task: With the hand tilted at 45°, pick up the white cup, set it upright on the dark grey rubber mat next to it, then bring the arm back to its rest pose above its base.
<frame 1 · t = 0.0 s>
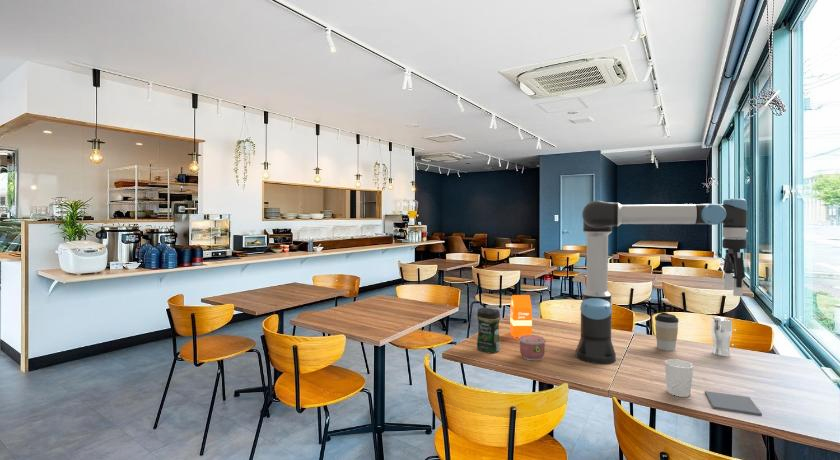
hand: (733, 292, 165), 28 cm above the table, tool pointing down, fingers open, 13 cm apart
rubber mat: (731, 403, 132), on the table
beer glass: (721, 354, 177), on the table
orange juice: (520, 336, 205), on the table
coffee cup: (666, 348, 185), on the table
white cup: (678, 393, 140), on the table
container: (532, 358, 175), on the table
coffee jar: (488, 350, 184), on the table
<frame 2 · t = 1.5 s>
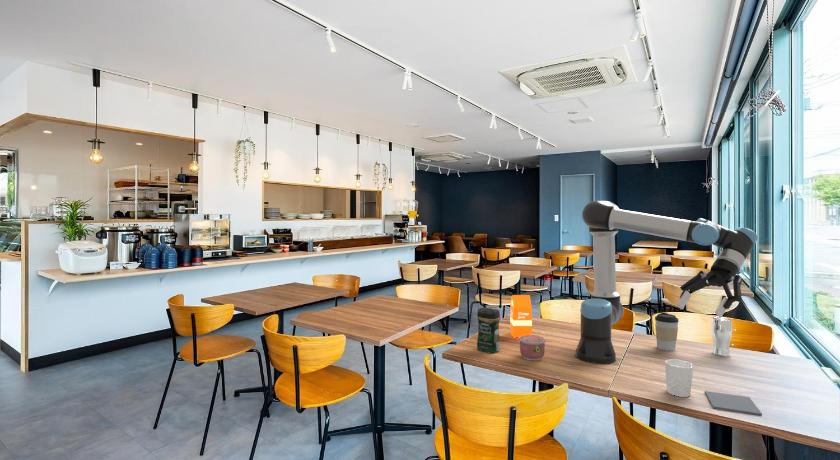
hand: (697, 310, 146), 26 cm above the table, tool tilted 45°, fingers open, 13 cm apart
nothing on the table moved.
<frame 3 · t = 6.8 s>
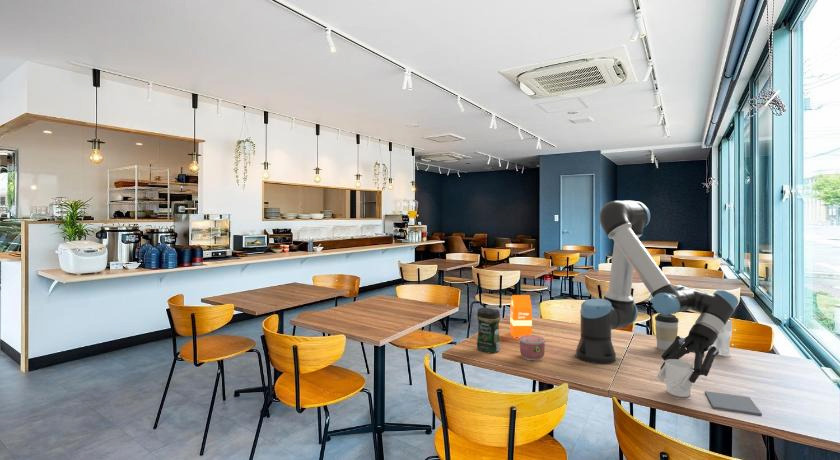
hand: (671, 383, 139), 4 cm above the table, tool tilted 45°, fingers closed on white cup, 8 cm apart
white cup: (678, 393, 140), on the table, touching gripper
everything else where it was.
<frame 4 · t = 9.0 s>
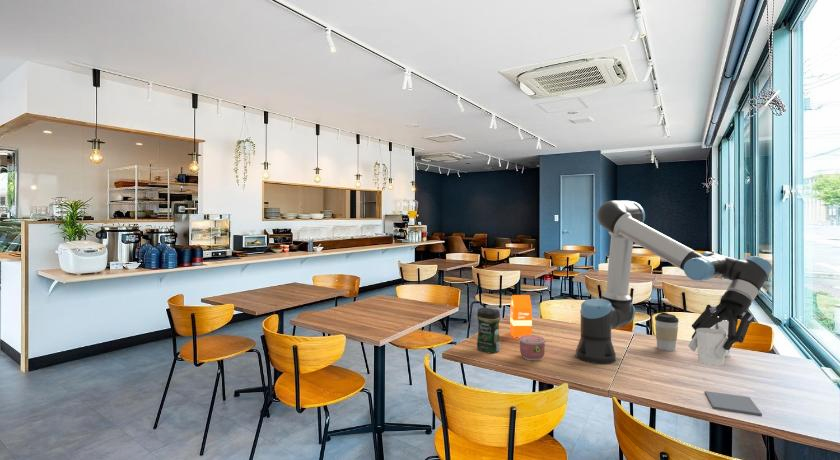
hand: (703, 352, 133), 16 cm above the table, tool tilted 45°, fingers closed on white cup, 8 cm apart
white cup: (711, 362, 134), point 12 cm above the table, touching gripper
everything else where it was.
when the fingers open (5 cm above the table, at t = 11.5 s): white cup drops 1 cm, resting on rubber mat.
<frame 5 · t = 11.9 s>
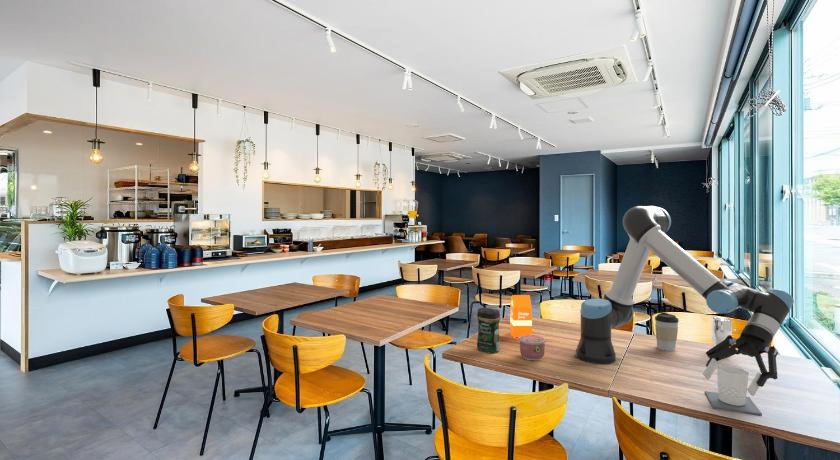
hand: (726, 384, 131), 6 cm above the table, tool tilted 45°, fingers open, 13 cm apart
white cup: (731, 401, 132), resting on rubber mat
everything else where it was.
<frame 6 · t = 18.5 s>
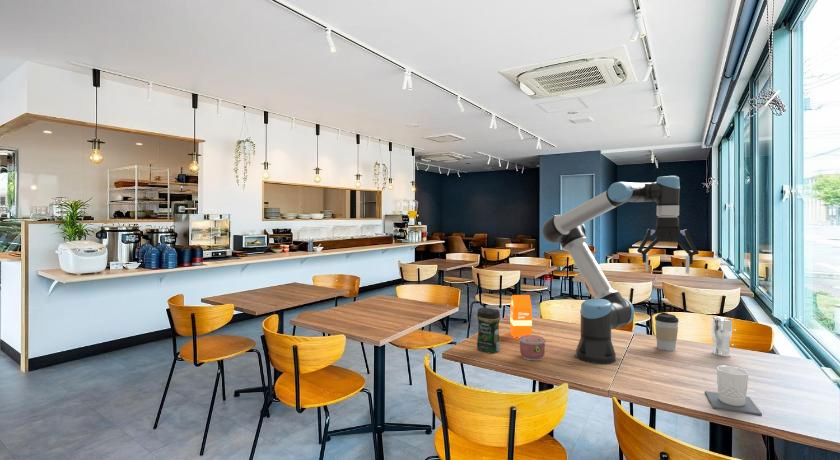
hand: (666, 272, 162), 37 cm above the table, tool pointing down, fingers open, 13 cm apart
nothing on the table moved.
at the end: white cup inside the target area on the rubber mat (0.1 cm from its centre), point 0.4 cm above the rubber mat's base; white cup tilted 0°; the gripper is holding nothing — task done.
